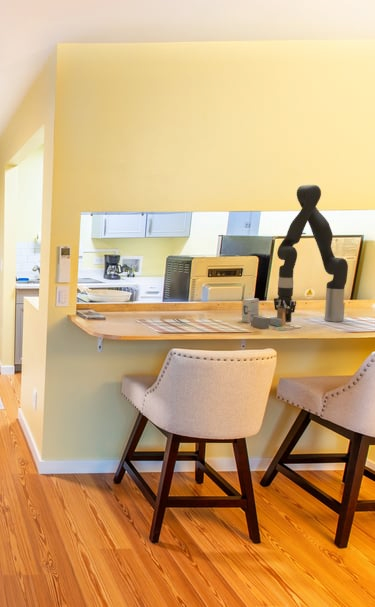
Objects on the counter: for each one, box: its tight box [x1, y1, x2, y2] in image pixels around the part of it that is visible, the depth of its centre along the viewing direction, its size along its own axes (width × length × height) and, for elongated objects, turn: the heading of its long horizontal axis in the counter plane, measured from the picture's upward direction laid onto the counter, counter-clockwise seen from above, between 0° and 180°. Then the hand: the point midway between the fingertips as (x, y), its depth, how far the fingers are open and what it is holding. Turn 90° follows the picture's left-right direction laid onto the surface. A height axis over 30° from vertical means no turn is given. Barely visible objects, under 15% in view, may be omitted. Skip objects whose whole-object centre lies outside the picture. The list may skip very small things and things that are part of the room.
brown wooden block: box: [276, 307, 293, 324], centre depth 291 cm, size 5×5×7 cm
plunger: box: [269, 313, 292, 327], centre depth 286 cm, size 4×14×7 cm, turn 36°
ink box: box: [241, 298, 260, 324], centre depth 298 cm, size 9×5×12 cm, turn 141°
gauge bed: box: [250, 315, 303, 332], centre depth 285 cm, size 18×18×5 cm
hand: (283, 319), depth 292 cm, fingers closed on brown wooden block, 5 cm apart
